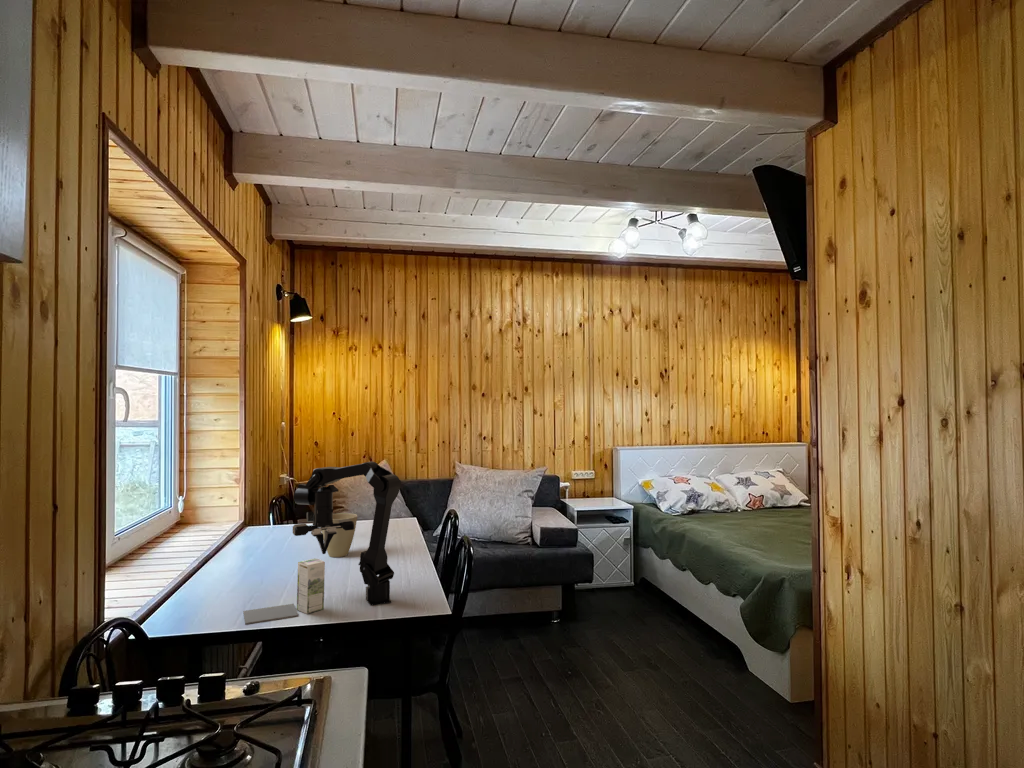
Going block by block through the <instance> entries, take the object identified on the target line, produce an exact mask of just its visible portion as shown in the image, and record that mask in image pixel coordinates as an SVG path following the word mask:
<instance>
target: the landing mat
mask: <svg viewBox="0 0 1024 768" xmlns="http://www.w3.org/2000/svg"><path fill="white" fill-rule="evenodd" d="M296 617H299V613H298V610H297V607H296V606H295V604H294V603H288V604H283V605H274V606H270V607H262V608H261V607H260V608H254V609H248V610H243V619H244V625H250V624H258V623H264V622H270V621H276V620H282V619H288V618H296Z"/></svg>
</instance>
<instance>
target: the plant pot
mask: <svg viewBox="0 0 1024 768" xmlns="http://www.w3.org/2000/svg"><path fill="white" fill-rule="evenodd" d="M344 519H350V520H352V521H353V522H354V530H346V531H345V530H344V529H343V528H338V529H336V532H337V534H334V535H333V537H332V539H331V541H330V543H329V546H328V548H327V551H326V553H327V555H328V556H329V557H330V558H341V557H342V558H343V557H346V556H348V554H349V552H350V549H351V546H352V544H353V540H354V537H355V531H356V528H357V523H358V522H357V520H358V515H357V514H355V513H350V512H349V513H344V512H343V513H333V523H339V520H344ZM324 531H325V530H322V531H321V533H322V534H323V538H325V533H324Z"/></svg>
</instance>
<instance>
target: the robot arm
mask: <svg viewBox="0 0 1024 768" xmlns="http://www.w3.org/2000/svg"><path fill="white" fill-rule="evenodd" d="M358 476H359V477H360V476H364V477H365V479H366V482H367V483H368V484H369V485H370V486H371V487H372V489H373V497H374V500H375V510H374V515H373V522H372V527H371V532H370V533H371V534H370V537H369V539H370V540H369V544H368V548H367V549H366V550H364V551H362V552H361V553H360V554H359V555H360V557H359V562H358V566H359V572H360V573H361V576H362V579H363V583H364V585H367V586H366V587H365V600H366V602H367V603H368V604H369V606H378V605H382V604H390V603H392V600H391V598H390V596H391V595H390V594H391V588H390V586H391V584H390V583H391V581H390V580H392V579H393V578H394V575H395V572H394V570H393V569H392V567H391V566H390V565H389V563H388V554H387V551H386V544H387V543H386V542H387V535H388V530H389V524H390V517H391V512H392V507H393V504H394V502H395V500H396V498H398V496H399V494H400V490H401V486H402V481H401V479H400V478H399V477H398V475H396V474H394V473H392V472H391V471H390V470H388V469H386V468H384V467H382V466H380V464H378V463H377V461H376V462H375V461H371V460H370V461H365V462H363V463H358V464H352V465H347V466H342V467H337V466H324V467H317V468H314V469H313V470H312V473H311V475H310V477H309V479H308V481H307V482H306V483H299V484H298V488H296V490H294V491H295V492H294V494H293V501H294V503H295V504H297V505H307V506H313V505H314V511H307V512H306V523H297V524H296V523H295V524H293V526H292V534H293V535H294V537H299V536H306V535H307V534H308V533H309V532H310V534H311V535H312V537H315V538H316V540H317V542H318V545H319V548H320V551H321V553H322V555H325V554H326V553H327V548H328V546H329V543H330V541H331V539H332V537H333V535H334V534H337V532H336V529H338V528H343V529H344V530H345V531H346V530H354V522H353V521H352V520H350V519H344V520H339V523H333V514H334V498H333V497H334V493H336V492H339V489H338V487H336V486H335V485H334V483H337V482H339V481H340V480H343V479H346V478H352V477H353V478H354V477H358ZM307 523H312V524H311V525H308V524H307ZM322 530H325V531H324V533H325V538H323V534H322Z"/></svg>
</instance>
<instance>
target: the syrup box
mask: <svg viewBox="0 0 1024 768" xmlns="http://www.w3.org/2000/svg"><path fill="white" fill-rule="evenodd" d="M325 567H326V563H325V561H324V560H322V559H320V558H311V559H306V560H302V561H298V562H297V585H296V587H297V588H296V589H297V591H296V593H297V594H296V595H297V596H296V611H297V612H298V611H299V612H301V613H303V614H306V615H308V614H312V613H315V612H318V611H321V610H324V609H325V575H326V574H325V572H326V571H325V569H326V568H325Z"/></svg>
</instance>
